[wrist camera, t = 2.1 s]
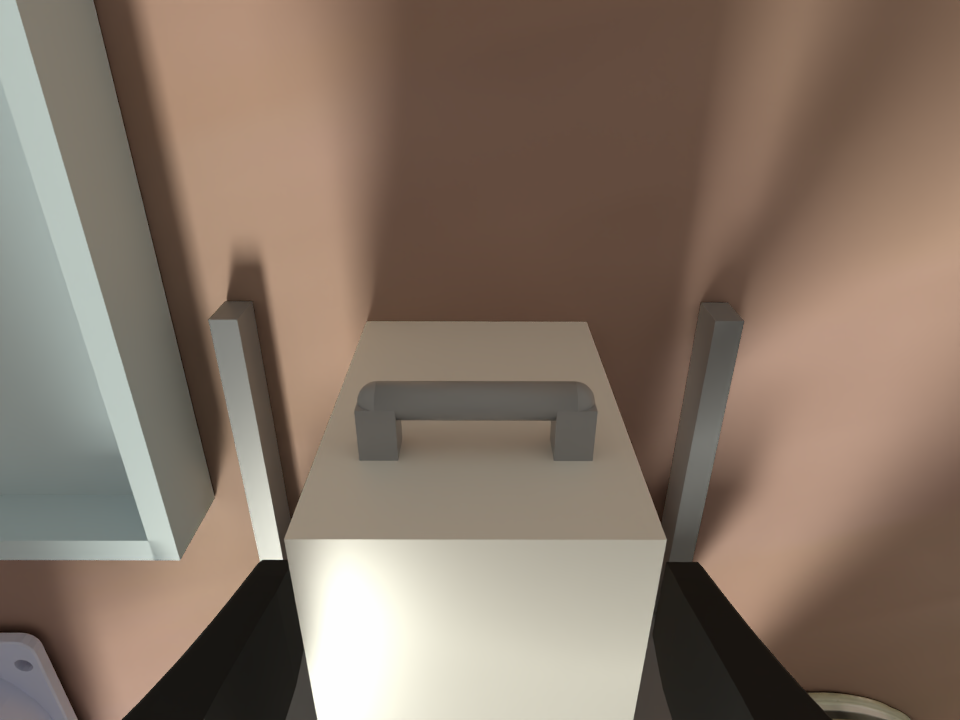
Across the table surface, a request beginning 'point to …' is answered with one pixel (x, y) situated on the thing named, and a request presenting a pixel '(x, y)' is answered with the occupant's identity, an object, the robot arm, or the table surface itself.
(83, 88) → the tray
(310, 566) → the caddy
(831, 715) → the coffee can
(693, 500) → the dock
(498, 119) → the table surface
